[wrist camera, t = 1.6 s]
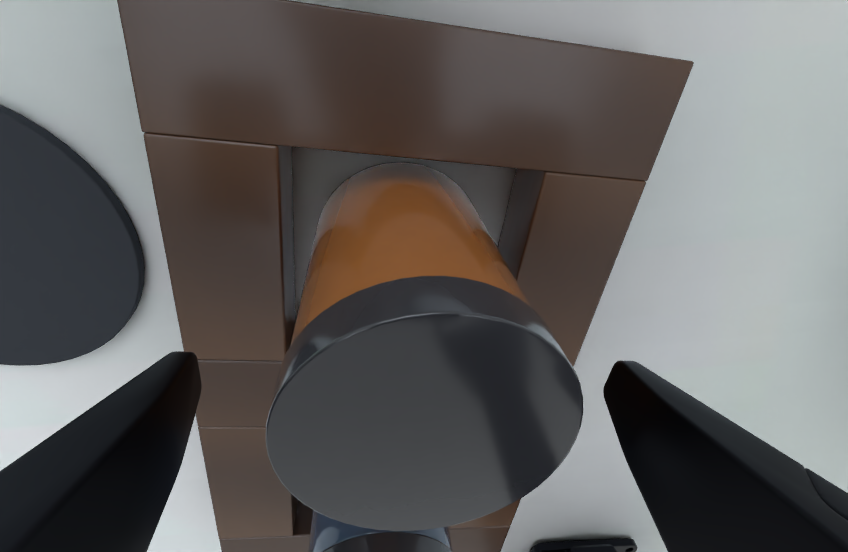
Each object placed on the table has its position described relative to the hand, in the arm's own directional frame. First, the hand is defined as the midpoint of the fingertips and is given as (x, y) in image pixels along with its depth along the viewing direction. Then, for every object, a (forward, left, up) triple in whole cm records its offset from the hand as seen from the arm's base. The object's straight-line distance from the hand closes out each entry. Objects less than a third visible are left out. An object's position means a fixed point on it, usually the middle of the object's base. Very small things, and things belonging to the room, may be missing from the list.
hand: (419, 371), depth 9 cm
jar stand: (-5, 0, -6) cm, 8 cm away
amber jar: (0, 0, -6) cm, 6 cm away
